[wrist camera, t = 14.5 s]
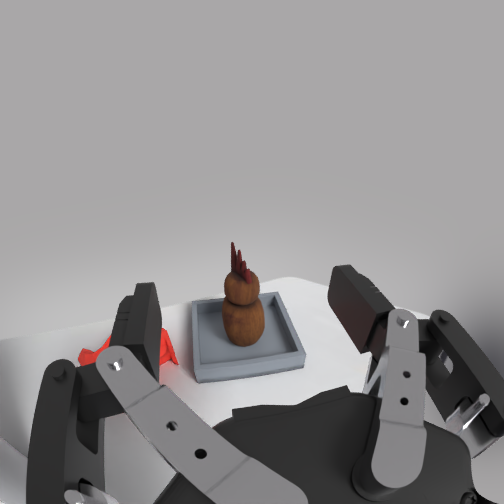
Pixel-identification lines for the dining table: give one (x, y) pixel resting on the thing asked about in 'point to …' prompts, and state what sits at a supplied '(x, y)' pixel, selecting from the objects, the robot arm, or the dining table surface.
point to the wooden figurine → (242, 304)
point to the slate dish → (237, 357)
